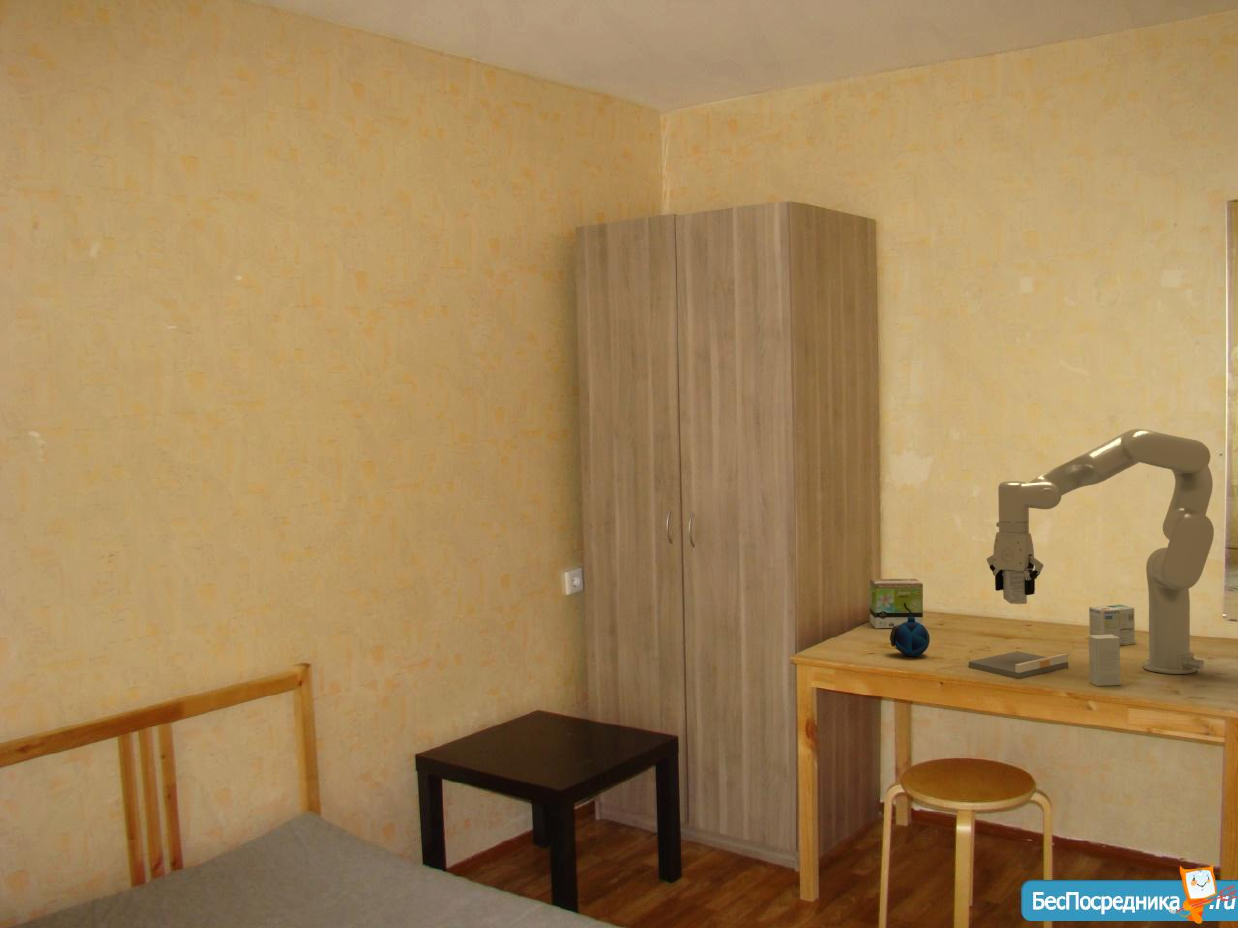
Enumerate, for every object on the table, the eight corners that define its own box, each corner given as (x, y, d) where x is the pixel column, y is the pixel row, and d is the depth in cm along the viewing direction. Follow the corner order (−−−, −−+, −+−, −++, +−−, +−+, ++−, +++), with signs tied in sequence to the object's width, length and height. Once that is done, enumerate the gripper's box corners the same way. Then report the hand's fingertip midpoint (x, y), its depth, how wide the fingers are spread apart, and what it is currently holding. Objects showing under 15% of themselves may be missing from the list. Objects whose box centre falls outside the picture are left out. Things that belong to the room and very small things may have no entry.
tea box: (875, 629, 342) (875, 583, 342) (869, 623, 352) (868, 578, 352) (923, 628, 342) (923, 582, 341) (916, 622, 352) (915, 577, 351)
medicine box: (1027, 604, 284) (1026, 571, 284) (1009, 604, 285) (1009, 571, 285) (1020, 598, 292) (1019, 566, 292) (1002, 599, 293) (1002, 567, 292)
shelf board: (1070, 667, 286) (1070, 654, 286) (1020, 679, 276) (1020, 665, 276) (1017, 656, 301) (1017, 643, 300) (968, 667, 290) (968, 654, 290)
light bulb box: (1119, 639, 318) (1119, 603, 317) (1135, 644, 311) (1135, 607, 311) (1088, 642, 315) (1088, 606, 315) (1104, 647, 309) (1104, 610, 308)
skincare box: (1112, 681, 271) (1112, 633, 271) (1120, 685, 267) (1120, 637, 267) (1088, 682, 271) (1088, 634, 271) (1096, 686, 267) (1096, 638, 266)
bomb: (890, 651, 311) (889, 599, 311) (929, 652, 308) (928, 600, 308) (889, 659, 302) (888, 605, 301) (930, 660, 299) (929, 606, 298)
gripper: (977, 526, 293) (978, 589, 294) (1032, 531, 278) (1033, 598, 279) (996, 524, 297) (997, 586, 298) (1051, 529, 282) (1051, 594, 283)
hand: (1014, 592), depth 288 cm, fingers closed on medicine box, 9 cm apart
